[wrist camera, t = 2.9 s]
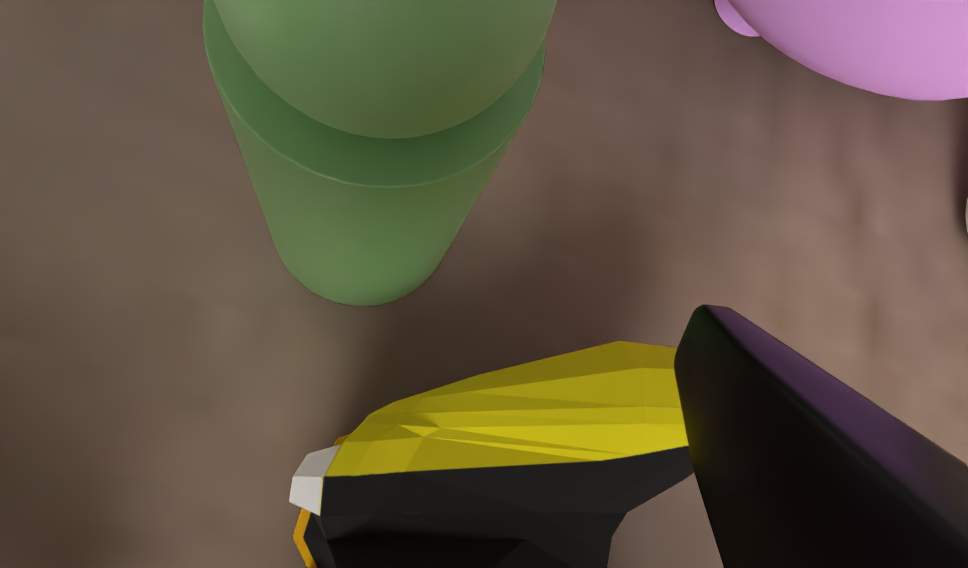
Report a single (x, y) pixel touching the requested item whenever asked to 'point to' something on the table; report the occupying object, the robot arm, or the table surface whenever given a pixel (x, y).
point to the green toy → (372, 125)
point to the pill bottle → (966, 215)
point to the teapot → (867, 41)
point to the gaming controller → (499, 467)
